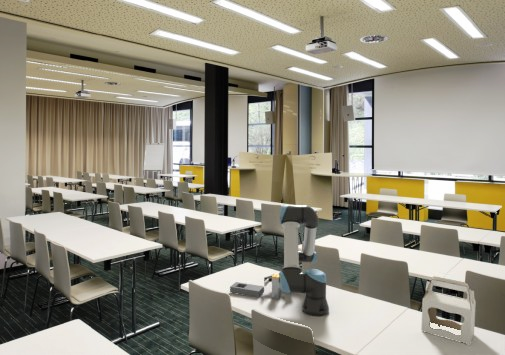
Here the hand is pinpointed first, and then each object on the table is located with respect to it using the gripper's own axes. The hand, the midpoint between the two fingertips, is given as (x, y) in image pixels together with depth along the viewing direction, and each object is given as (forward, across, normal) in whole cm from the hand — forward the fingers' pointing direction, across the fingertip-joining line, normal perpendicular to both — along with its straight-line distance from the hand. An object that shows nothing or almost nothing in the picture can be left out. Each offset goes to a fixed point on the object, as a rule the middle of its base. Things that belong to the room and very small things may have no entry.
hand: (275, 285), depth 233 cm
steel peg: (-2, 0, -8) cm, 9 cm away
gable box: (+6, -95, -9) cm, 96 cm away
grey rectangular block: (-2, +20, -8) cm, 22 cm away
